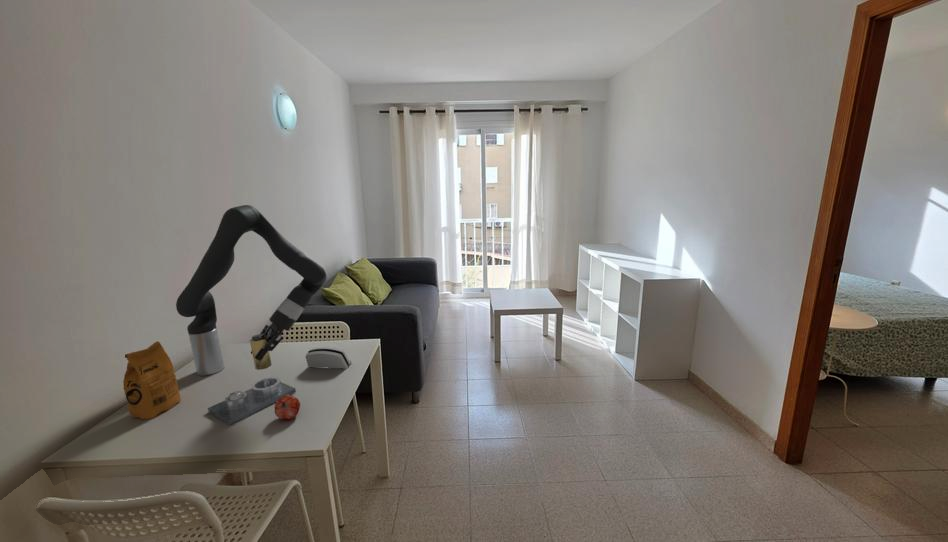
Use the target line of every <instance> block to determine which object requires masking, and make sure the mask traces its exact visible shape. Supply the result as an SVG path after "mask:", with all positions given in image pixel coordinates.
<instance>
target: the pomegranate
mask: <svg viewBox="0 0 948 542" xmlns="http://www.w3.org/2000/svg"><path fill="white" fill-rule="evenodd" d="M300 408H301V402H300V399H298V398H297V397H295V396H293V395H292V394H291V395H284V396H282V397H281V398H280V399H279V400H278V401H277V402H275V403H274V414H275V416H276V417H277V418H278V419H280V420H292V419H295V418H296V416H297V415H298V414H299V412H300Z"/></svg>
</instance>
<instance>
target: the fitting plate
mask: <svg viewBox="0 0 948 542" xmlns="http://www.w3.org/2000/svg"><path fill="white" fill-rule="evenodd" d="M294 392H295V393H296V392H297V391H296V387H293V386H291V385H288V384H286V383H284V382H282V381H281V378H279V377H278V376H269V377H264V378H261V379H259V380H257V381H255V382H254V383H253V384H252V385H251V388H249V389H248V390H245V391H242V390H236V391H233V392H231V393H229V395H228V396H227V397H225V400H223V401H221V402H219V403H217V404H214V405H211V406H210V407H208V408H207V413H208V414H210V415H212V416H214V417H216V418H217V419H219V420H220V421H222V422H224V423H225V424H227V425H228V426H232V425H233V424H235V423H237V422H239V421H241V420H243V419H245V418H247V417H249V416H251V415H253V414H255V413H257V412H259V411H262V410H263V409H265V408H267V407H270V406H271V405H273V404H276V401H278V400H279V399H280V398H281V397H282V396H284V395H290V394H291V395H292V393H293V394H295V393H294Z"/></svg>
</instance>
